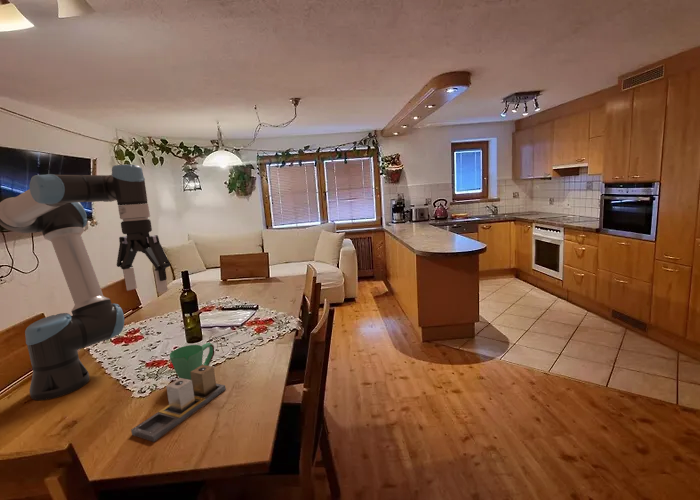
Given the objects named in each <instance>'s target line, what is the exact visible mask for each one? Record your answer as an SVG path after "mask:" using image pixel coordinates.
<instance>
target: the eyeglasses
mask: <svg viewBox="0 0 700 500" xmlns="http://www.w3.org/2000/svg"><path fill="white" fill-rule="evenodd" d="M235 332H236V335H238V334H239V333H238V331H237V330H233V331H231V332H228V333H225V334H221V335H218V336H216V337H212V336H210V337H209V338H208V339H209V340H208V341H209V342H208V343H211V342H210V341H211V340H212V341H213V340H214V341H216V344H217V345H216V349H215V351H217V350H218V347H219V345H220V347H221V351H222V352H224V351H223V345H222V343H227V341H224V340H223V341H221V340H220V342H221V343H219V340H218V339H219V338H221V337H223V336H226V335H230V334H232V333H235ZM259 339H261V341H262V342H263V341H264V338H263V337H262V336H259V337H257V338H254V339H252V340H249V341H247V342H244V343H242V344H239V345H235V344H234V343H233V342H231V341H229V343H230V344H232V345H233V347H234V348H238V347H241V346H242V345H245V344H248V343H251V342H253V341H256V340H259ZM233 354H236V351H234V352H233Z"/></svg>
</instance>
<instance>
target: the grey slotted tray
mask: <svg viewBox="0 0 700 500" xmlns="http://www.w3.org/2000/svg"><path fill="white" fill-rule="evenodd" d="M216 388H217V389H216V390H215V391H213V392H212V393H210V394H209V395H208V396H206V397H201V396H196V395H194V398H195V404H194V405H193V406H191V407H190V408H189V409H187V410H186V411H184V412H183V413H182V414H180V413H176V412H172V411H170V407H169V404H168V405H166V406H165V407H163V408H162V409H160V410H159V411H158V412H156V413H154V414H153V415H151V416H150V417H148V418H147V419H145V420H144V421H142V422H141V423H139V424H137V425H136V426H135V427H133V428H132V429H131V430H130V431H131V435H132V436H133V437H138V438H140V439H144V440H146V441H149V442H152V443H155V442H156V441H158V440H159V439H161V438H162V437H164V436H165V435H167V433H168V432H170V431H172V429H174V428H176V427H177V426H178V425H180V424H182V422H183V421H185V420H187V419H188V418H190V417H191V416H192V415H193V414H195V413H196V412H198V411H199V410H200V409H201V408H203V407H204V406H206V405H207V404H208V403H210V402H211V401H212V400H214V399H215V398H216V397H218V396H219V395H221V394H222V393H224V392H225V391H227V388H226V385H225V384H221V383H220V384H219V383H216Z"/></svg>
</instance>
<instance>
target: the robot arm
mask: <svg viewBox="0 0 700 500" xmlns="http://www.w3.org/2000/svg"><path fill="white" fill-rule="evenodd" d="M145 180H146V179H145V177H144V173H143V168H142V167H141V166H140V165H138V164H116V165H113V166H112V168H111V174H109V175H108V174H106V175H103V174H100V175H98V174H97V175H96V174H89V175H88V174H53V173H46V174H36V175H33V176H32V177H31V179H30V181H29V186H28V187H29V188H28V189H27V190H25V191H23V192H21V193H20V194H18V195H17V196H13V197H7V198H5V199H3V200H1V201H0V227H3V228H4V229H6V230H8V231H12V232H15V233H20V234H34V233H36V234H37V233H42V235H43V238H44V239H45V240H47V241H50V242H51V245H52V246H53V249H54V252H55V253H54V254H56V255H55V256H56V258H57V260H58V263H59V266H60V268H61V272H62V274H63V277H64V280H65V282H66V285H67V287H68V288H67V289H68V290H69V294H70V295H71V298H72V302H73V304H74V306H73V308H72V309H71V314H72V315H71V314H70V313H69V312H63V313H57V314H53V315H49V316H46V317H43V318H41V319H38V320H36V321H34V322H33V323H30V324H29V325H28V326H27V327H26V329H25V331H24V334H25V335H24V336H25V344H26V346H27V351H28V354H29V360H30V363H31V368H32V376H31V381H30V386H29V396H30V398H31V400H34V401H45V400H51V399H55V398H59V397H60V398H61V397H63V396H65V395H69V394H71V393H73V392H75V391H77V390H79V389H81V388H82V387H84V386H86V384H88V383H89V382H90V374H89V371H88V370H87V368H86V367H85V365H84V364H83V362H82V361H81V359H80V356H79V350H82V349H85V348H87V347H90V346H92V345H95V344H98V343H102V342H104V341H108V340H111V339H112V338H115V337H117V336H119V335H120V334H121V333H122V332H123V330H124V326H125V316H124V315H125V313H124V312H123V309H122V307H121V306H120V304H118V303H112V301H111V298H109V297H106V296H105V295H104V294H103V291H102V288H101V285H100V282H99V280H98V278H97V275H96V272H95V270H94V267H93V265H92V262H91V259H90V256H89V253H88V250H87V248H86V246H85V245H86V244H85V242H84V240H83V237H82V234H83V233H84V232H85V229H84V228H85V227H86V226H87V224H88V218H87V217H88V215H87V213H86V210H85V208H84V206H83V205H82V203H94V202H110V203H111V202H114V201H116V203H117V207H118V214H119V219H120V220H122V221H121V222H120V228H121V232H122V234H123V235H125V236H119V238H118V240H119V248H118V252H117V260H116V267H118V268H120V269H121V270H122V272H123V278H124V281H125V282H124V283H125V286H126V287H125V288H126V289H125V290H126V291H127V292H128V291H132V290H135V289H137V288H138V287H137V281H136V276H135V270H134V266H133V263H134V261H135V258H136V256H137V254H138V252H140V253H142V254H144V255H145V256H146V257H147V258H148V260H149V262H150V263H151V264H152V265H153V266H154V270H153V271H154V277H155V284H156V291H157V293H164V292H167V291H168V285H167V284H168V283H167V272H166V269H167V268H168V267H171V262H170V260H169V258H168V257H167V255H166V253H165V250H164V248H163V247H162V244H161V243H160V238H159V236H158V235H155V234H154V235H150V232H152V231H153V228H152V222H151V219H150V217H151V215H150V207H149V203H148V194H147V190H146V189H147V188H146V182H145Z"/></svg>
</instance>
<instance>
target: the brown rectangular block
mask: <svg viewBox="0 0 700 500" xmlns="http://www.w3.org/2000/svg"><path fill="white" fill-rule="evenodd" d="M190 374H191V380H192V385H193V392H194V395H196V396H201V397H206V396H208V395H209V394H210V393H212V392H213V391H215V390H216V389H217V388H216V384H217V382H216V375H215V374H216V373H215V366H212V365H211V366H210V365H209V366H206V365H203V364H202V365H201V366H199V367H198V368H196V369H194V370H193V371H191V372H190Z"/></svg>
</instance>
